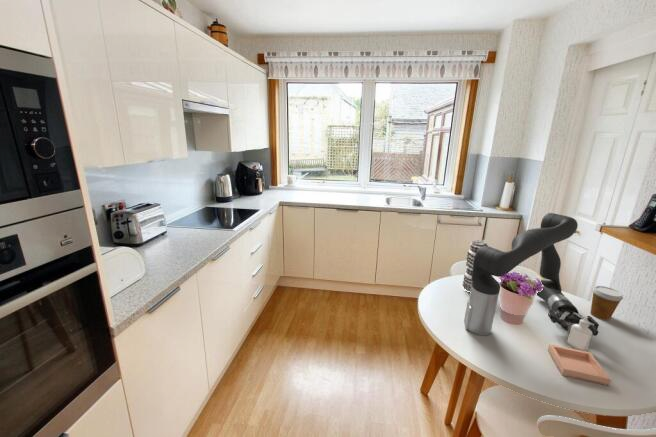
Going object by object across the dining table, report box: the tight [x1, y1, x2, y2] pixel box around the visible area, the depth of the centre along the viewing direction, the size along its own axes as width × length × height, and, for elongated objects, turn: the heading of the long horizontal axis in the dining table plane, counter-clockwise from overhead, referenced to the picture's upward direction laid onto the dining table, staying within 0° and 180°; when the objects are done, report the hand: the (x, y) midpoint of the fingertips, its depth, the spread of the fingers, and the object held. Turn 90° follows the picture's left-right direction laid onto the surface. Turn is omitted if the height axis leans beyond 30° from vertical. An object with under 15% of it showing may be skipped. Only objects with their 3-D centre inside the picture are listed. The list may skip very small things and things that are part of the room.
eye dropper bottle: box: [566, 316, 593, 352], centre depth 105 cm, size 4×6×12 cm
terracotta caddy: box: [547, 343, 611, 386], centre depth 97 cm, size 12×12×2 cm
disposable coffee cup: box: [590, 285, 624, 321], centre depth 124 cm, size 10×10×12 cm
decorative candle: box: [462, 240, 489, 292], centre depth 140 cm, size 9×9×25 cm
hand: (581, 331), depth 105 cm, fingers open, 8 cm apart
